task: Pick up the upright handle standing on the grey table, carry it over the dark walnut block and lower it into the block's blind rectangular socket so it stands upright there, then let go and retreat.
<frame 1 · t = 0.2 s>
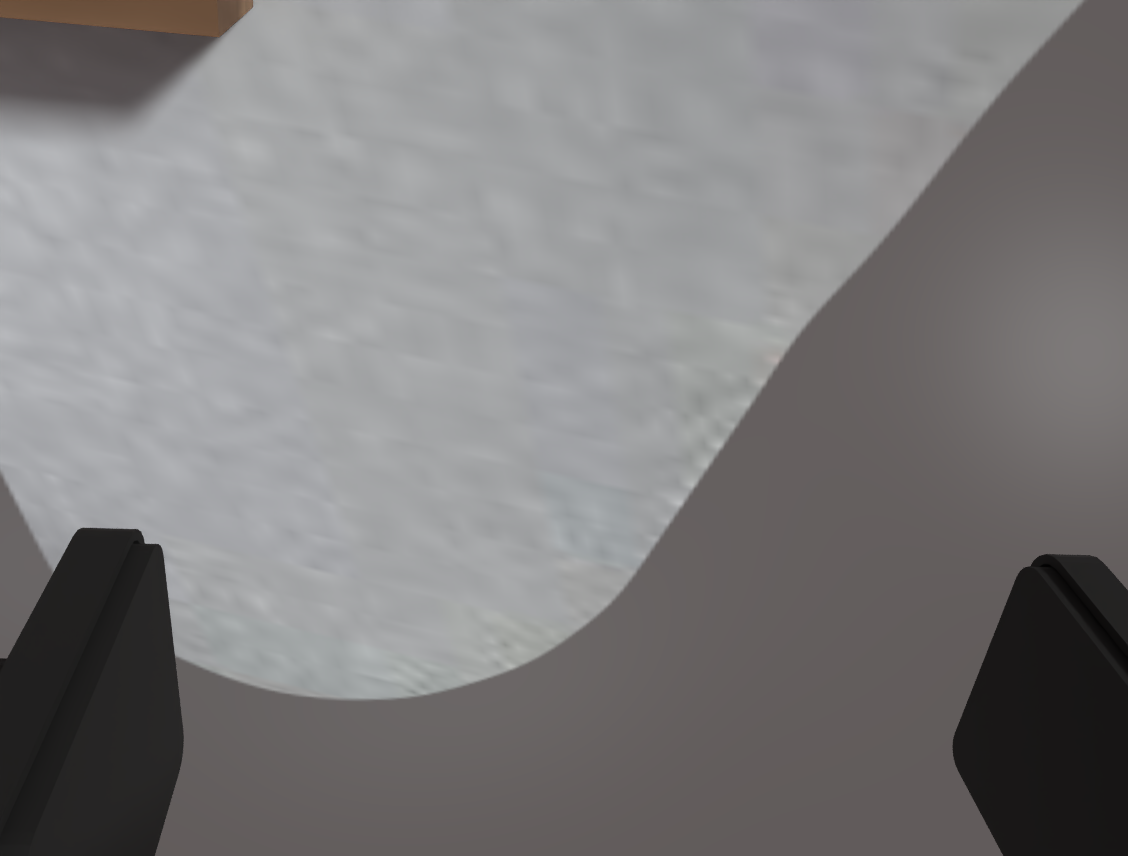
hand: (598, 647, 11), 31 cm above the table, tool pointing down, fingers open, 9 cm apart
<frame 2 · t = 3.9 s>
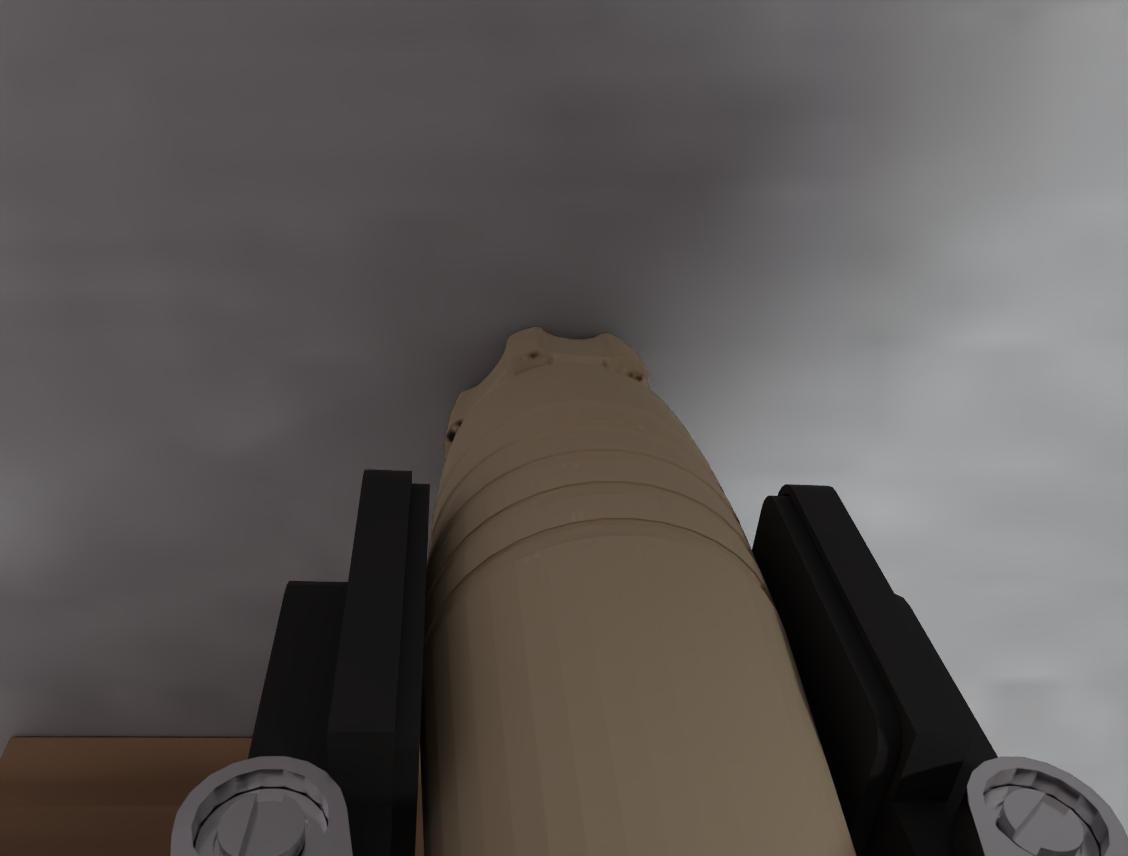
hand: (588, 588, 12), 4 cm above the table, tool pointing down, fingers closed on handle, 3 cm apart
handle: (555, 405, 16), on the table, touching gripper
when the fingers open (7 cm above the table, at t = 9.5 s): handle stays where it is, resting on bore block.
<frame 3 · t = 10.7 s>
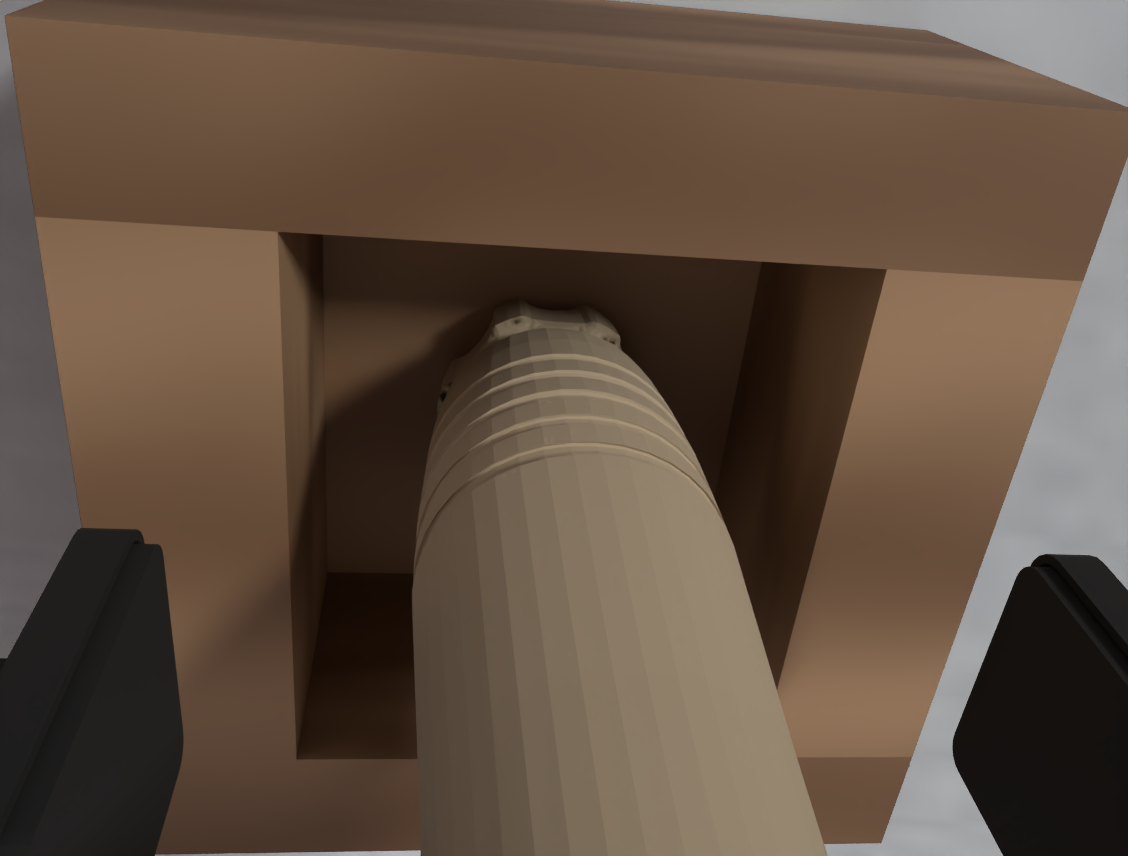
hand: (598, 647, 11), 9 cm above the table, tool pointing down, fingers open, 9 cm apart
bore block: (529, 348, 19), on the table
handle: (539, 373, 18), point 1 cm above the table, touching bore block
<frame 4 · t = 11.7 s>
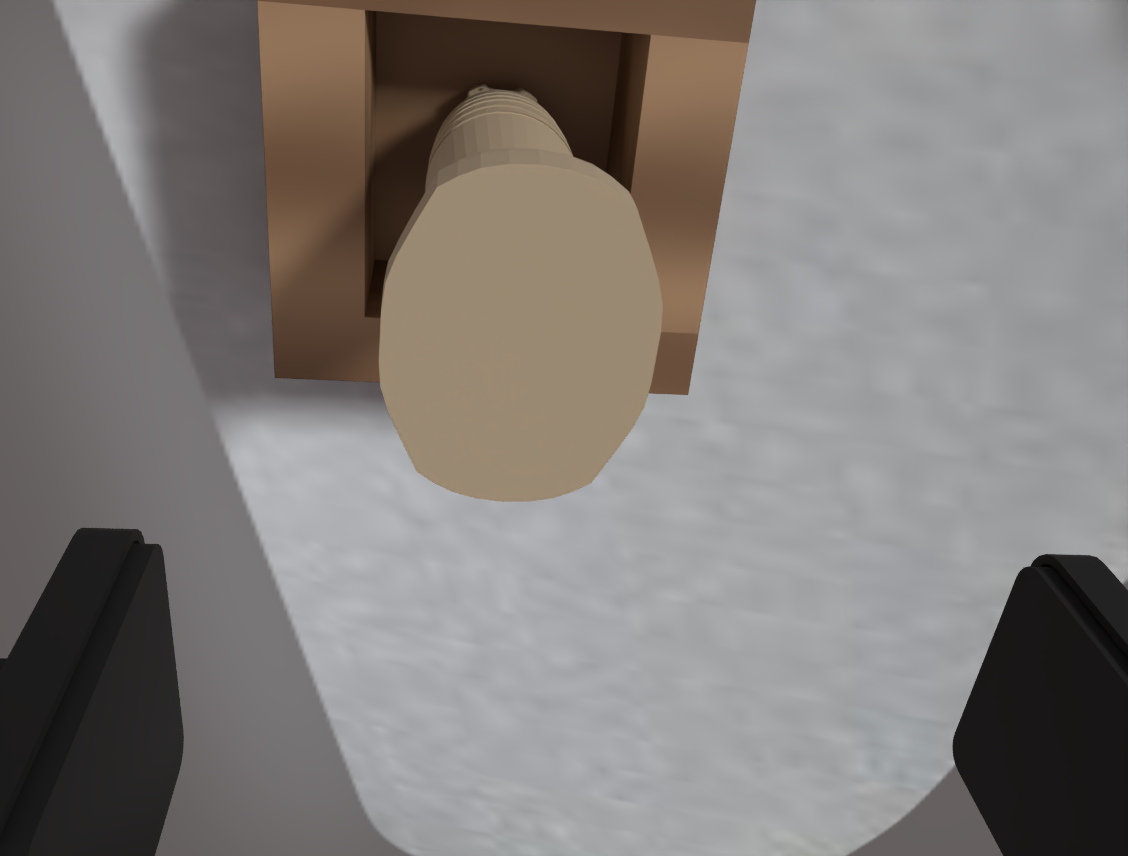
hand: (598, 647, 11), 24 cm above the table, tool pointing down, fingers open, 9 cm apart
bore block: (492, 128, 32), on the table
handle: (496, 133, 31), point 1 cm above the table, touching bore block
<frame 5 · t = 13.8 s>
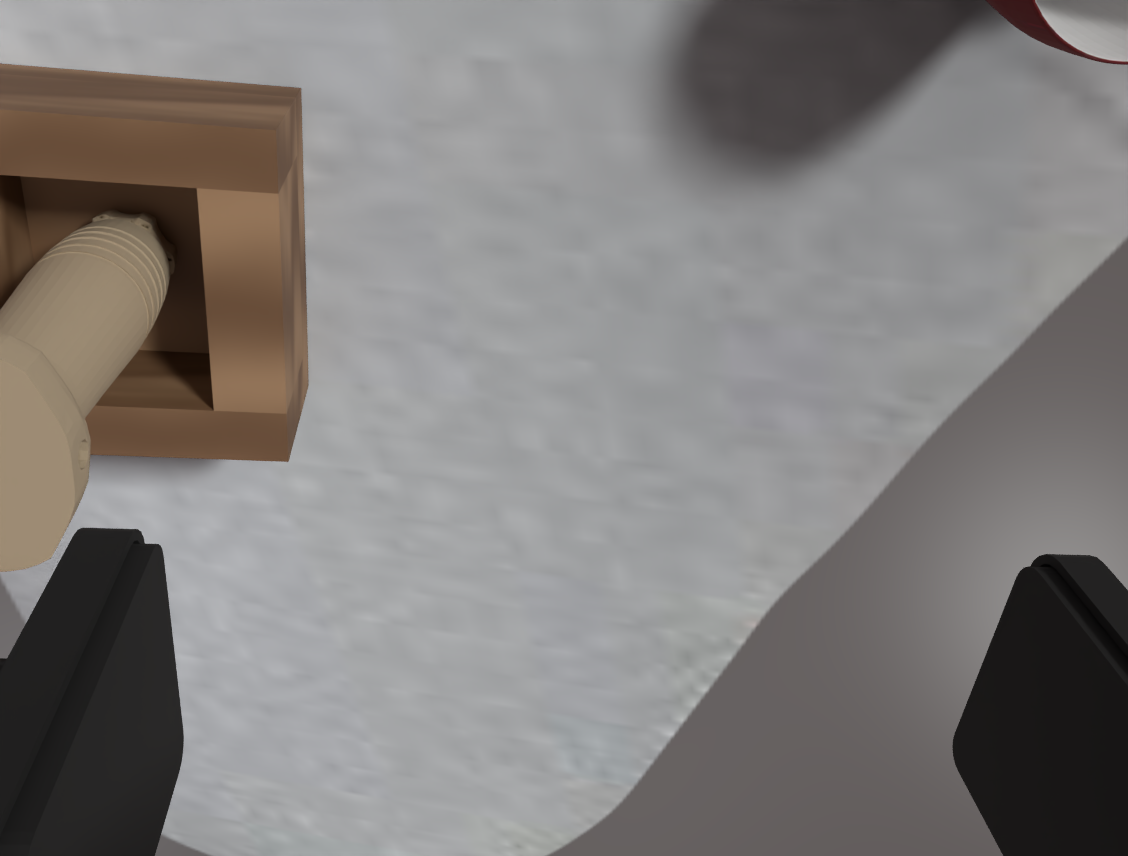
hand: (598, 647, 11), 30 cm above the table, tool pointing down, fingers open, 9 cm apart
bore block: (143, 237, 39), on the table
handle: (135, 245, 38), point 1 cm above the table, touching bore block
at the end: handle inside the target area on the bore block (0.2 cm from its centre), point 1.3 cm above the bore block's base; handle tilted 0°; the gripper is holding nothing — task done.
